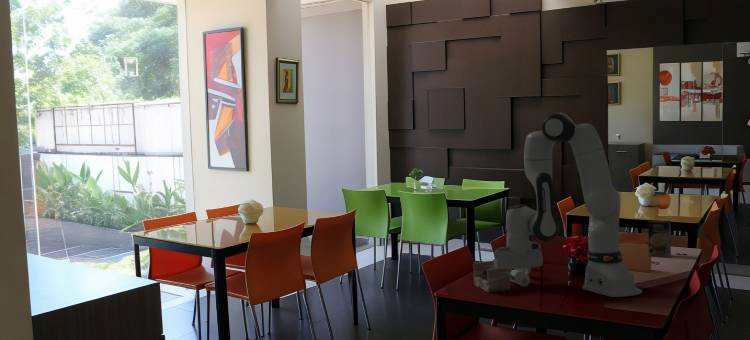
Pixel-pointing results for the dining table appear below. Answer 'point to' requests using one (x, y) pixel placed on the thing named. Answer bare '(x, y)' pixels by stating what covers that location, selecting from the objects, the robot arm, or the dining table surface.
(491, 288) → the holder
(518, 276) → the roll
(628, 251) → the dining table surface
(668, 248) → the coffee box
